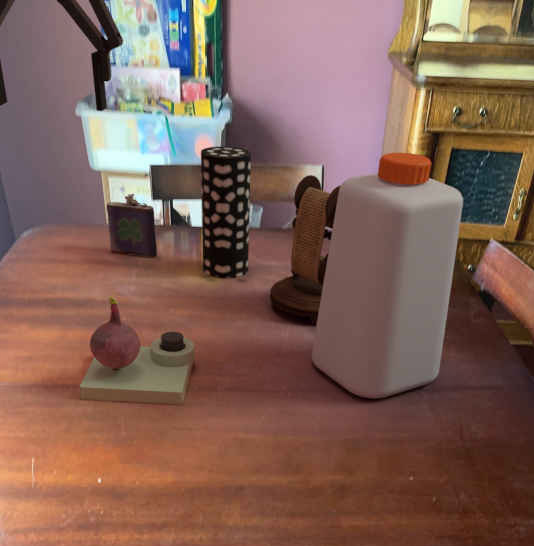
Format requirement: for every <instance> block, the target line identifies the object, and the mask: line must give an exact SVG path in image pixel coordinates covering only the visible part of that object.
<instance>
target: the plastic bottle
mask: <svg viewBox="0 0 534 546" xmlns="http://www.w3.org/2000/svg"><path fill="white" fill-rule="evenodd" d="M431 169H432V161H431V159H430V158H428V157H427V156H425V155H421V154H418V153H410V152H387V153H385V154H383V155H382V156H381V157H380V159H379V162H378V169H377V173H370V174H363V175H357V176H353V177H348V178H347V179H345V180H344V181H343V182H342V183H341V184H340V185H341V186H340V185H339V186H340V189H339V194H338V200H337V206H336V212H335V218H334V224H333V229H331V230H332V231H331V232H332V236H331V241H330V242H329V248H328V253H329V254H328V253H327V254H328V260H327V266H326V272H325V278H324V284H323V289H322V295H321V301H320V307H319V313H318V319H317V322H316V324H315V325H316V327H315V331H314V338H313V344H312V350H311V359H312V363H313V364H314V366H316V368H317V369H318V370H320V372H323V373H324V374H325V375H327V376H328V377H329V378H331V379H332V380H333V381H335V382H336V383H337V384H338V385H340V386H341V387H342V388H344V389H346V390H347V391H348V392H349V393H351V394H352V395H355V396H358V397H362V398H365V399H383V398H387V397H391V396H394V395H398V394H401V393H403V392H407V391H410V390H414V389H418V388H420V387H424V386H426V385H428V384H431V383H433V382H434V381H435V380H436V378H437V377H438V375H439V372H440V366H441V361H442V360H441V359H442V354H443V347H444V339H445V332H446V327H447V326H446V325H447V318H448V311H449V303H450V296H451V290H452V289H451V288H452V282H453V275H454V269H455V262H456V254H457V247H458V246H457V245H458V241H459V235H460V234H459V233H460V226H461V219H462V212H463V206H464V198H463V194H462V193H461V192H460V191H459V190H458V189H457V188H455V187H453V186H451V185H448V184H446V183H443V182H441V181H438V180H435V179H433V178H430V175H431V174H430V173H431Z"/></svg>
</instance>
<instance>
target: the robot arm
mask: <svg viewBox="0 0 534 546" xmlns="http://www.w3.org/2000/svg"><path fill="white" fill-rule="evenodd" d="M15 2H16V0H0V27H1V26H2V24H3V22H4V21H5V19H6V17H7V15H8V14H9V12H10V10H11V9H12V6H13V5H14V3H15ZM56 2H57V3H58V4H59V5H61V6H62V8H63V9H64V11H65V12H66V13H67V14H68V15H69V17H70V18H71V19H72V20H73V21H74V24H76V25H77V27H78V28H79V29H80V30H81V32H82V33H83V34H84V35H85V37H86V38H87V39H88V41H89V42H90V43H91V45H92V46H93V48H95V50H96V51H93V52H91V53H90V57H91V68H92V76H93V77H92V78H93V86H94V97H95V98H94V99H95V107H96V111H97V112H103V111H104V110H105V109H107V108H108V105H107V104H108V103H107V93H106V85H105V84H106V83H108V82H110V81H111V79H112V65H111V52H112V50H115V49H117V48H119V47H121V46H122V45H124V39H123V36H122V34H121V32H120V31H119V29H118V26H117V24H116V21H115V20H114V18H113V16H112V13H111V12H110V10H109V6H108V5H107V4H106V1H105V0H88V3H89V4H90V6H91V9H92V10H93V12H94V14H95V16H96V19H97V20H98V23H99V24H100V26H101V29H102V31H103V32H104V34H105V35H103V34H102V32H101V31H100V30H99V28H98V27H97V26H96V25H95V23H94V22H93V21H92V19H91V18H90V16H89V15H88V14H87V13H86V12H85V11H86V10H84V9H83V7H82V6H81V4H79V2H78V1H77V0H56ZM105 36H106V37H105ZM7 103H8V96H7V90H6V85H5V79H4V71H3V67H2V61H1V59H0V106H3V105H6V104H7Z"/></svg>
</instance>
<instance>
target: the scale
mask: <svg viewBox="0 0 534 546" xmlns="http://www.w3.org/2000/svg"><path fill="white" fill-rule="evenodd" d="M183 340H184V349H183V350H181V351H177V352H167V351H164V350H162V347H161V337H158V338H157V339H155V340H153V341H152V342H151V344H150V345H149V346H145V345H144V346H140V351H139V354H138V356H137V357H136V359H135V360H134V361H133V362H132V363H131V364H130V365H128V366H126V367H124V368H121V369H119V370H112V368H109V367H107V366H104V365H102V364H101V363H99V362H98V361H97V360H96V358H95V357H94V356H93V359H92V362H91V363H90V365H89V367H88V369H87V371H86V373H85V374H84V377H83V379H82V381H81V382H80V385H79V395H80V400H88V401H89V400H90V401H107V402H108V401H109V402H110V401H111V402H124V403H125V402H126V403H143V404H161V405H162V404H163V405H164V404H165V405H180V406H181V405H183V404H184V400H185V397H186V392H187V389H188V384H189V380H190V378H191V377H190V376H191V373H192V369H193V365H194V362H195V357H196V344H195V343H194V341H192V340H191V339H190V338H186V337H184V336H183Z"/></svg>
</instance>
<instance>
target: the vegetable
mask: <svg viewBox="0 0 534 546" xmlns="http://www.w3.org/2000/svg"><path fill="white" fill-rule="evenodd" d="M108 302H109V304H110V305H109V308H110V319H109V321H107V322H106V323H103V324H102V325H99V326H98V327H97V328H96V329H95V330H94V332H93V333H92V335H91V336H90V341H89V348H90V351H91V352H90V353H91V354H92V356H93V358H94V357H95V358H96V360H97V361H98V362H99V363H101V364H102V365H104V366H107V367H109V368H112V370H119V369H121V368H124V367H126V366H128V365H130V364H131V363H132V362H133V361H134V360H135V359H136V357H137V356H138V354H139V351H140V346H141V340H140V337H139V335H138V333H137V332H136V331H135V329H133V328H132V327H131V326H130V325H128V324H127V323H125V322H122V319H121V315H120V311H119V305H118V302H117V301H116V300H115V298H114V297H112V296H111V297H109V298H108Z"/></svg>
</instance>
